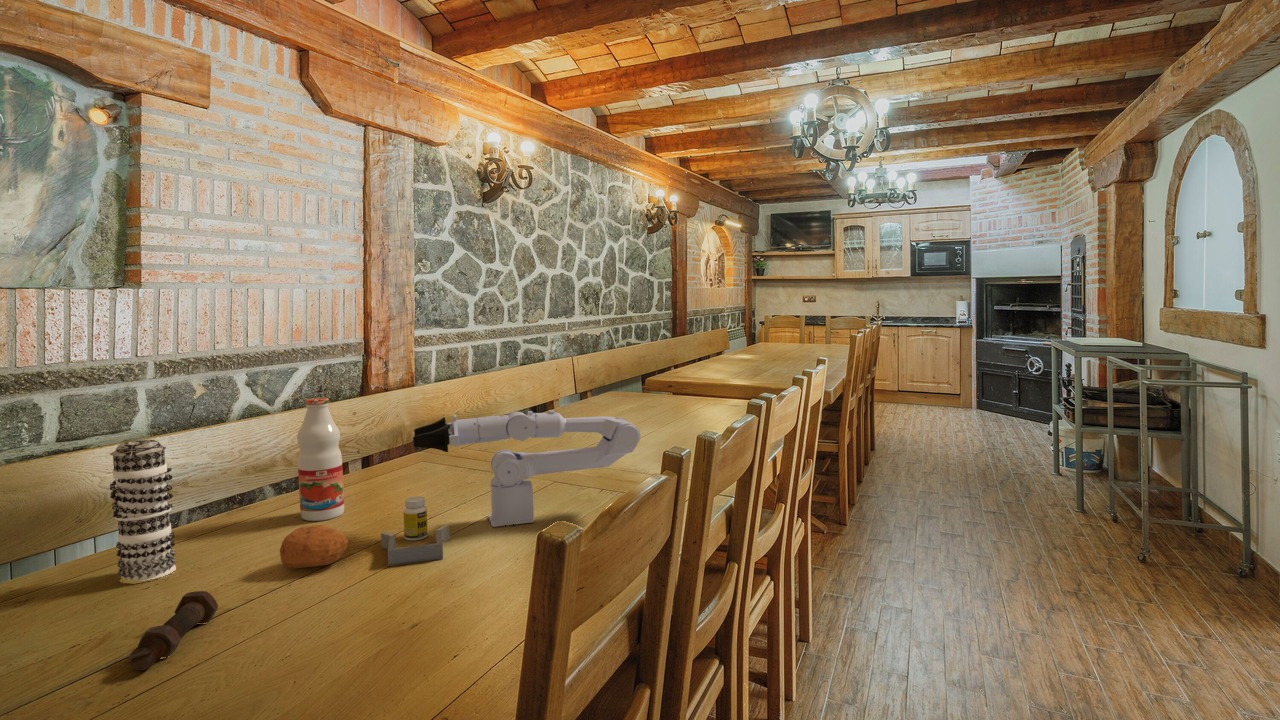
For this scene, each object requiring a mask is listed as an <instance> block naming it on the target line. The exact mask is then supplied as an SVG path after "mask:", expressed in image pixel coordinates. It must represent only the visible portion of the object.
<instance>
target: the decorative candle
mask: <svg viewBox="0 0 1280 720" xmlns="http://www.w3.org/2000/svg"><path fill="white" fill-rule="evenodd" d="M166 449H167V446H165V445H162V444H161V443H160V442H159V441H158V440H155V439H138V440H132V441H126V442H122V443H120V444H119V445H117V446H116V449H115V450H114V451H112V452H110V454H109V455H110V456H112V463H113V464H112V465H113V469H112V478H113V479H114V480H113V481H112V482H111V483H110V484H109V490H110V491H111V492H110V496H109V498H110V499H113V500H114V502H113V503H112V504H111V506H112V507H111V509H113V512H112V514H113V515H112V517H113V518H114V520H116V521H117V523H118V524H117V525H118V526H117V527H118V532H117V542H116V545H115V547H116V549H119V550H117V551H116V556H117V557H120V558H119V559H118V560H117V563H116V564H117V567H118V571H117V575H119V577H120V576H122V577H123V578H125V579H127V580H132V581H138V580H139V581H145V580H150V579H155V578H159V577H163V576H165V575H168V574H170V573H172V572H173V571H175V570H176V571H177V567H176V566H177V565H176V563H177V558H176V557H175V556H176V555H177V553H176V551H177V550H176V549H174V548H173V547H174V546H176V544H175V542H176V541H175V540H173V539H174V538H175V533H174V532H173V531H172V523H171V521H170V512H171V511H172V508H173V504H171V503H169V502H168V500H171V499H172V498H173V497H174V496H173V494H172V493H171V492H170V491H171V490H173V486H172V485H169V483H167V481H168V482H169V481H171V480H172V479H173V475H172V474H170V472H172V467H168V465H167V464H168V463H167V462H166V451H165V450H166ZM169 492H170V493H169ZM176 571H175V572H176ZM173 573H174V572H173ZM173 573H172V574H173ZM168 576H169V575H168Z"/></svg>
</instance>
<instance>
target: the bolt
mask: <svg viewBox="0 0 1280 720" xmlns="http://www.w3.org/2000/svg"><path fill="white" fill-rule="evenodd" d="M218 608H219V605H218V602H217V600H216V599H215V597H214V596H213V595H212V594H211V593H209V592H208V591H204V590H198V591H197V590H196V591H190V592H187V593H185V594H184V595H182V597H181V599H180V601H179V602H178V605H177V607H175V610H174V612H173V613H174V615H173V616H171V617H170V618H169V619H168V620H166V622H164V623H163V624H162V625H157V626H151V627H149V628H148V629H147V630H146V631H145V632H144V634H143V635H142V637H141V639H140V641H139V643H138V644H137V646H136V648H135V649H133V651H132V652H131V653H130V654H129V656H128V658H127V660H128V661H129V662H128V665H129V667H130V668H132V670H133V669H134V670H138V671H145V670H148V669H150V668H151V667H152V666H154V665H155V664H156V663H157V662H158V661H159V660H158V659H160V658H161V657H168V656H170V655H171V654H172V653H173V652H174V653H175V652H176V650H177V648H178V646H179V645H180V642H181V640H182V638H183V637H184V636H185V635H186V634H187V633H189V631H190V630H191V629H192V628H193V627H195V626H197V625H196V624H197V623H206V622H207V624H208V623H210V621H211V620H212V618H213V617H214V616H215V614H216V612H217V610H218ZM174 653H173V654H174ZM173 654H172V655H173ZM172 655H171V656H172ZM171 656H170V657H171ZM160 660H161V659H160Z"/></svg>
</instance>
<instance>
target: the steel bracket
mask: <svg viewBox="0 0 1280 720" xmlns="http://www.w3.org/2000/svg"><path fill="white" fill-rule="evenodd" d="M380 539H381V541H380V542H381V548H382V549H386V550H387V564H388V566H387V567H393V566H400V565H407V564H408V565H409V564H416V563H423V562H424V563H425V562H431V561H439V560H444V550H443V547H444V545H443V543H445V542H447V541H449V540H450V525H449V524H448V525H447V524H444V525H442V526H441V527H438V528H437V529H435V543H428V544H427V543H426V544H420V545H412V546H401V547H396V546H397V544H396V543H397V541H396V539H397V538H396V534H394V533H390V532H387V531H384V532H381V533H380Z"/></svg>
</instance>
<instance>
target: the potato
mask: <svg viewBox="0 0 1280 720" xmlns="http://www.w3.org/2000/svg"><path fill="white" fill-rule="evenodd" d="M348 545H349V539H348V537H347V536H346V535H345V534H344V533H343V532H342V531H340V530H337V529H334V528H331V527H329V526H327V525H324V524H313V525H305V526H304V525H303V526H300V527H298V528H296V529H294V530H293V531H291V532H290V533H289V534H287V535H286V536H285V537H284V539H283V540H282V541H281V545H280V548H279V555H280V561H281V563H282V565H284V567H286V568H287V569H300V568H302V569H303V568H317V567H322V566H328V565H330V564H333V563H335V562H337V560H338V559H340V558H341V557H342V556H343V554H344V553H345V551H346V549H347V547H348Z"/></svg>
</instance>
